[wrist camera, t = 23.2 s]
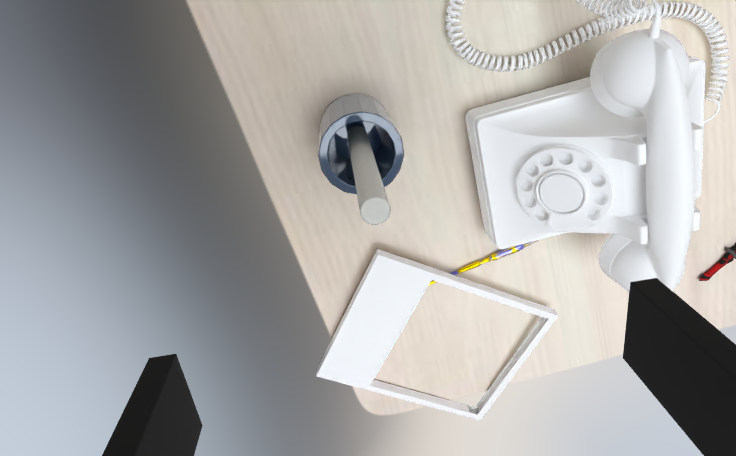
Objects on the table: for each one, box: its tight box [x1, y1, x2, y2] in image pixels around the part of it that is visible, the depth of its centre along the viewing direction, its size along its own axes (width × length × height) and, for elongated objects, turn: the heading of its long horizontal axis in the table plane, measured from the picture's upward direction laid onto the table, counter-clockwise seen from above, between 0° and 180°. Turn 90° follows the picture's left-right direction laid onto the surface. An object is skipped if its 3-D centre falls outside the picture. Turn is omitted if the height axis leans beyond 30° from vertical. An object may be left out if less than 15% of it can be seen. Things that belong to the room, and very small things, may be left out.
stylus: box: [347, 126, 391, 225], centre depth 32 cm, size 2×2×16 cm
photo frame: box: [316, 249, 558, 420], centre depth 48 cm, size 15×1×18 cm
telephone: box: [446, 0, 729, 291], centre depth 35 cm, size 25×21×12 cm
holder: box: [318, 94, 404, 194], centre depth 37 cm, size 6×6×7 cm
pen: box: [429, 239, 541, 285], centre depth 46 cm, size 14×1×1 cm, turn 114°
